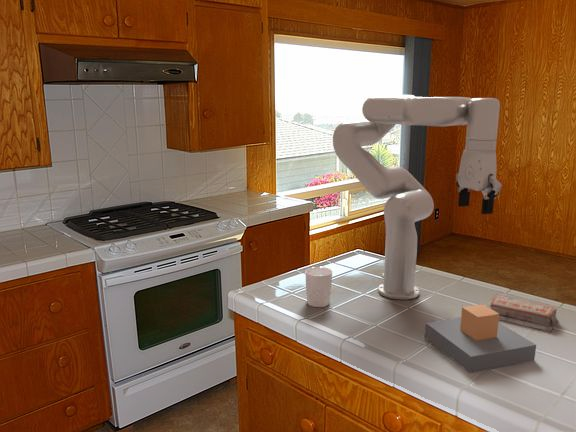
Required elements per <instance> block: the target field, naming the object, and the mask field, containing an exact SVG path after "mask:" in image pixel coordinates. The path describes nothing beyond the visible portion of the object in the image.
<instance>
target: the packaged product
mask: <svg viewBox="0 0 576 432" xmlns="http://www.w3.org/2000/svg"><path fill="white" fill-rule="evenodd" d="M486 306H487V307H488V308H490V309H492V310H494V311H495V312H497V313H499V321H504V322H508V323H511V324H516V325H519V326H524V327H529V328H533V329H538V330H542V331H545V332H549V333H551V332H552V330H553V329H554V328H555V324H556V322H557V321H558V315H557V310H558V309H557V308H556V307H553V306H547V305H543V304H539V303H534V302H531V301H525V300H521V299H516V298H512V297H507V296H503V295H498V294H497V295H493V297H492V299H491V300H490V301H489V302H488V304H487V305H486Z"/></svg>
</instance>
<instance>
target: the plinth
mask: <svg viewBox="0 0 576 432" xmlns="http://www.w3.org/2000/svg"><path fill="white" fill-rule="evenodd" d="M460 326H461V317H455V318H450V319H443V320H436V321H431V322H425V328H424V329H425V330H424V338H425V339H426V340H428V342H430V343H432V345H434V346H435V347H436V348H438V349H439V350H440V351H441V352H442V353H444V354H446V356H448V357H449V358H450V359H451V360H452V361H454V362H455V363H456V364H458V365H459V366H460V367H461V368H463V370H465V371H466V372H468V373H469V374H471V373H476V372H481V371H482V372H483V371H487V370H491V369H497V368H502V367H507V366H513V365H519V364H523V363H529V362H533V361H535V359H536V351H537V344H536V343H534V342H532V341H530V340H529V339H528V338H525V337H524V336H523V335H521V334H519V333H517V332H516V331H515V330H513V329H510V328H509V327H508V326H505V325H504V324H502V323H500V322H498V331H497V337H494V338H489V339H483V340H477V341H476V340H474V339H473V338H471V337H470V336H468V335H467V334H466V333H464V332H463V331H461V330H460Z"/></svg>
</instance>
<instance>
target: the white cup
mask: <svg viewBox="0 0 576 432" xmlns="http://www.w3.org/2000/svg"><path fill="white" fill-rule="evenodd" d="M332 279H333V270H332V269H330V268H329V267H323V266H313V267H312V266H311V267H308V268H306V269H305V292H306V302H307V304H308V306H309V307H313V308H325V307H328V306H329V305H330V303H331V301H330V300H331V293H332V284H333V283H332V282H333V281H332Z"/></svg>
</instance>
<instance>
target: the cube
mask: <svg viewBox="0 0 576 432" xmlns="http://www.w3.org/2000/svg"><path fill="white" fill-rule="evenodd" d="M460 314H461V316H460V318H461V326H460V330H461V331H463V332H464V333H466V334H467V335H468V336H470V337H471V338H473V339H474V340H476V341H477V340H483V339H489V338H494V337H497V331H498V322H499V321H500V320H499V313H497V312H495V311H494V310H492V309H490V308H488V307H487V305H486V304H474V305H468V306H462V307H461V313H460ZM499 323H500V322H499Z"/></svg>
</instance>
